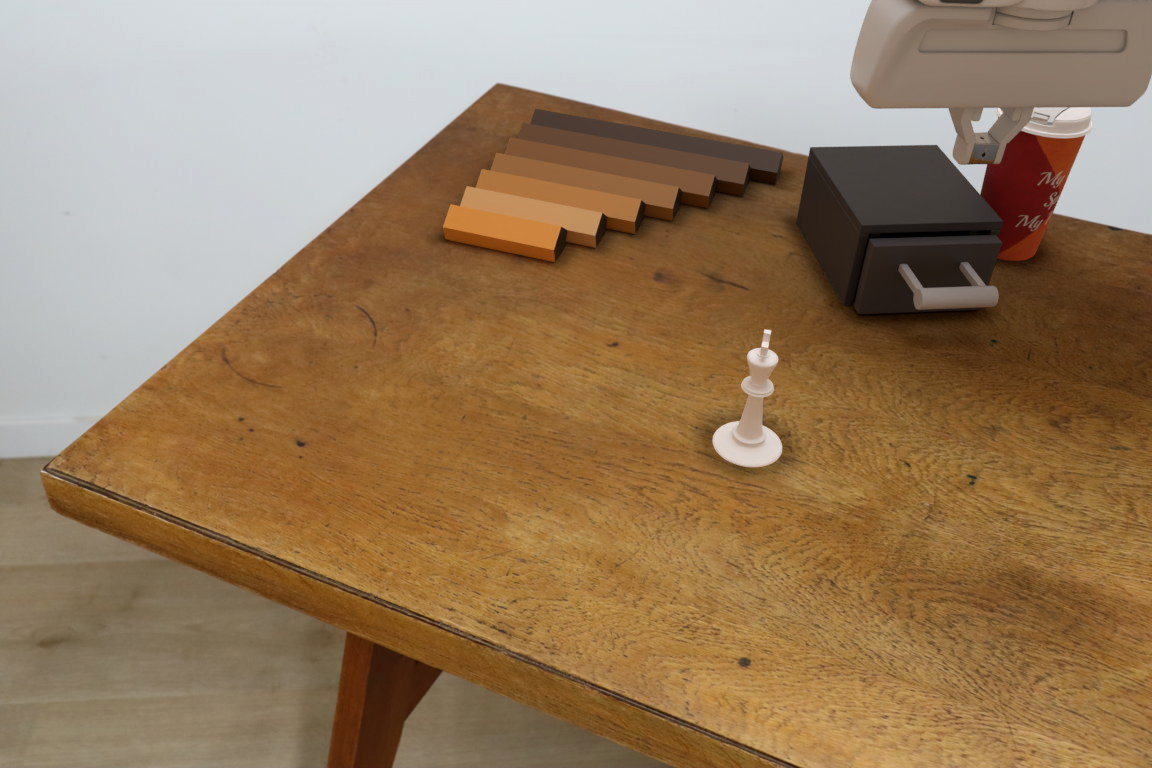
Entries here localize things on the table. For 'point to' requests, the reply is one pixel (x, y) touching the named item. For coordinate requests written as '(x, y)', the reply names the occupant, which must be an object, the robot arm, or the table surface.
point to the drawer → (927, 272)
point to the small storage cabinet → (882, 203)
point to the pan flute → (595, 183)
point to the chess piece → (752, 416)
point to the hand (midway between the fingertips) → (975, 161)
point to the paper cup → (1034, 176)
